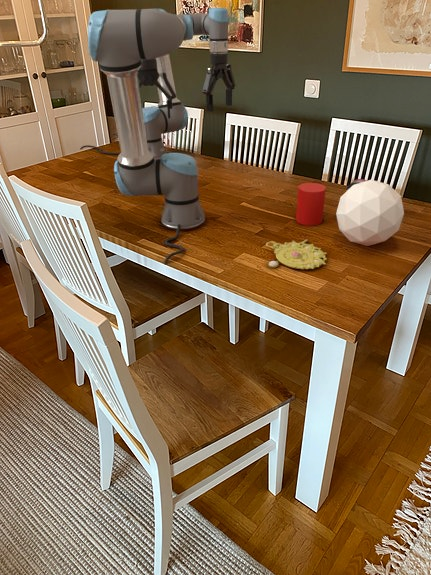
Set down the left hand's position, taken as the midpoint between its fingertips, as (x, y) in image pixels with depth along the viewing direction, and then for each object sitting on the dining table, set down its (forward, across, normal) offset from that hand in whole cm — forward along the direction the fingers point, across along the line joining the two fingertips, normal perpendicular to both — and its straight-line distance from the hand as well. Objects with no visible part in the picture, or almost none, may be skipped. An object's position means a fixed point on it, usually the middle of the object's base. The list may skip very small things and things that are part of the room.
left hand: (219, 108), depth 190 cm
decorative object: (+25, -55, -69) cm, 92 cm away
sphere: (+25, -34, -82) cm, 93 cm away
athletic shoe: (+26, -7, -72) cm, 77 cm away
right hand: (0, -30, +11) cm, 32 cm away
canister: (+26, -29, -60) cm, 72 cm away
